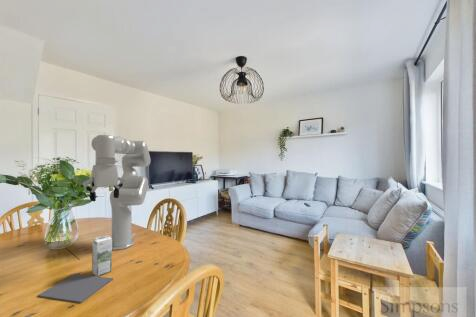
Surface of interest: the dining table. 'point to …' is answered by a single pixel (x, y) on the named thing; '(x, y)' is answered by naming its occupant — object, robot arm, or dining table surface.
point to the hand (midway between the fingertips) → (105, 199)
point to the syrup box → (102, 255)
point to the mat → (76, 288)
